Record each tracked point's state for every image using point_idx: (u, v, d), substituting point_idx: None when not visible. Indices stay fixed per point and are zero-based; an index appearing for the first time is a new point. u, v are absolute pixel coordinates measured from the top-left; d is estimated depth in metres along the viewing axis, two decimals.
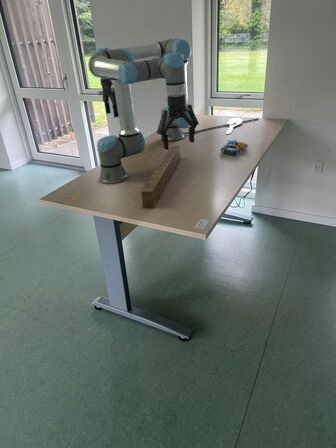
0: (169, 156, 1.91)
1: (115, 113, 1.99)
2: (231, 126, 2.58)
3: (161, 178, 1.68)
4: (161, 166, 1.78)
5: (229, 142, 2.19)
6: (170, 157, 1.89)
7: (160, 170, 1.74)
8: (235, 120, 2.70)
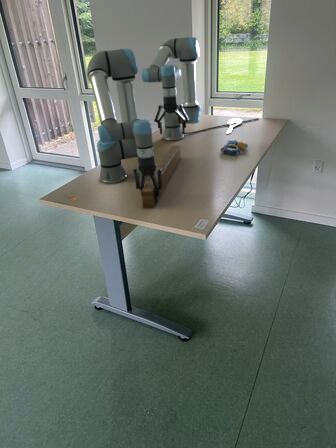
0: (169, 156, 1.91)
1: (184, 129, 1.94)
2: (231, 126, 2.58)
3: None
4: (161, 166, 1.78)
5: (229, 142, 2.19)
6: (170, 157, 1.89)
7: None
8: (235, 120, 2.70)
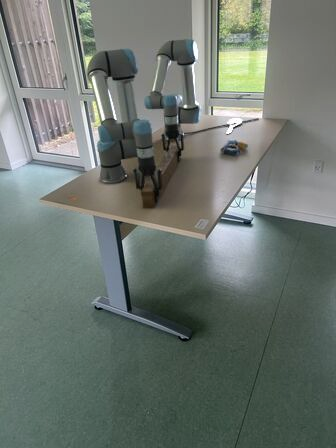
0: (169, 156, 1.91)
1: (179, 158, 2.04)
2: (231, 126, 2.58)
3: None
4: (161, 166, 1.78)
5: (229, 142, 2.19)
6: (170, 157, 1.89)
7: None
8: (235, 120, 2.70)
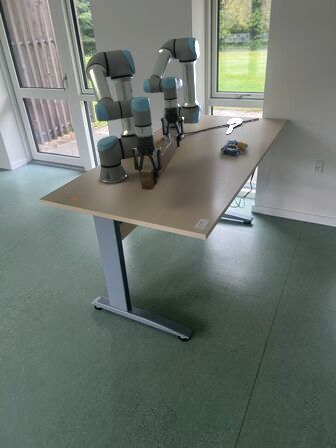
0: (169, 140, 1.87)
1: (179, 142, 1.99)
2: (231, 126, 2.58)
3: None
4: None
5: (229, 142, 2.19)
6: (170, 141, 1.84)
7: None
8: (235, 120, 2.70)
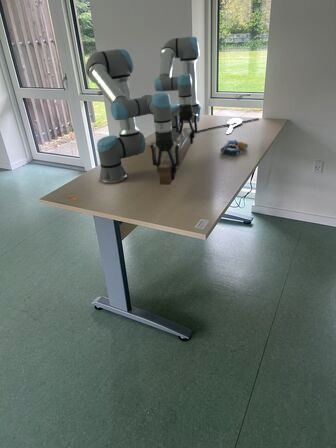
0: (183, 136, 1.89)
1: (192, 139, 2.02)
2: (231, 126, 2.58)
3: None
4: None
5: (229, 142, 2.19)
6: (184, 137, 1.87)
7: None
8: (235, 120, 2.70)
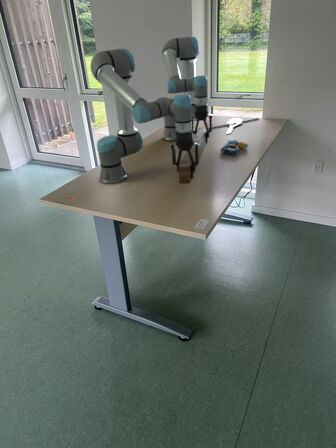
0: (199, 136, 1.94)
1: (207, 139, 2.07)
2: (231, 126, 2.58)
3: None
4: None
5: (229, 142, 2.19)
6: (200, 137, 1.92)
7: (193, 148, 1.77)
8: (235, 120, 2.70)
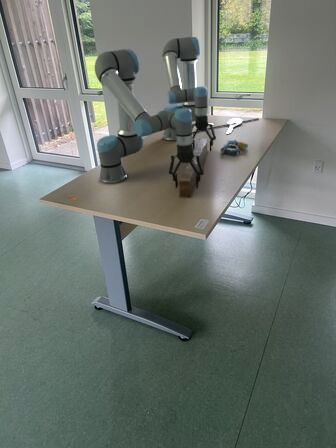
0: (199, 148, 1.98)
1: (211, 147, 2.08)
2: (231, 126, 2.58)
3: None
4: (194, 158, 1.84)
5: (229, 142, 2.19)
6: (200, 149, 1.96)
7: (194, 161, 1.81)
8: (235, 120, 2.70)
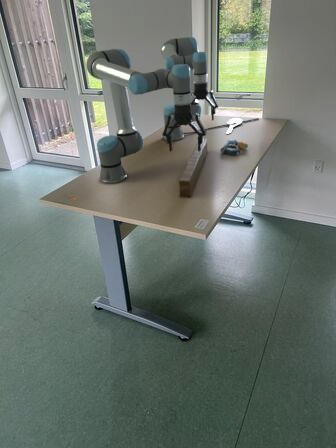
0: None
1: (213, 116, 1.98)
2: (231, 126, 2.58)
3: (195, 169, 1.75)
4: (194, 158, 1.84)
5: (229, 142, 2.19)
6: None
7: (194, 161, 1.81)
8: (235, 120, 2.70)
